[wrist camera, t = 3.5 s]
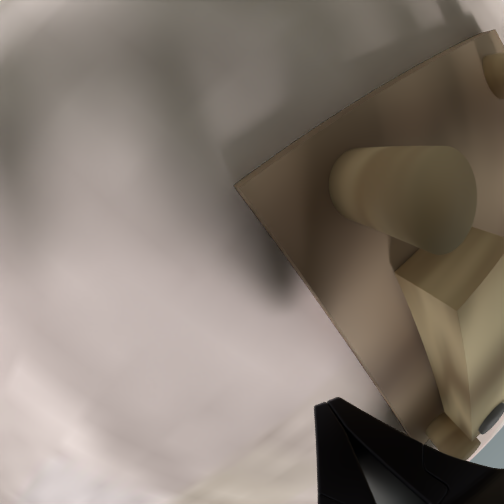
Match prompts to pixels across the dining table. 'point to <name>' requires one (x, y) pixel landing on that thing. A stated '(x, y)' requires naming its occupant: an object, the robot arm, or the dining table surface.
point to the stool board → (367, 250)
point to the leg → (462, 325)
